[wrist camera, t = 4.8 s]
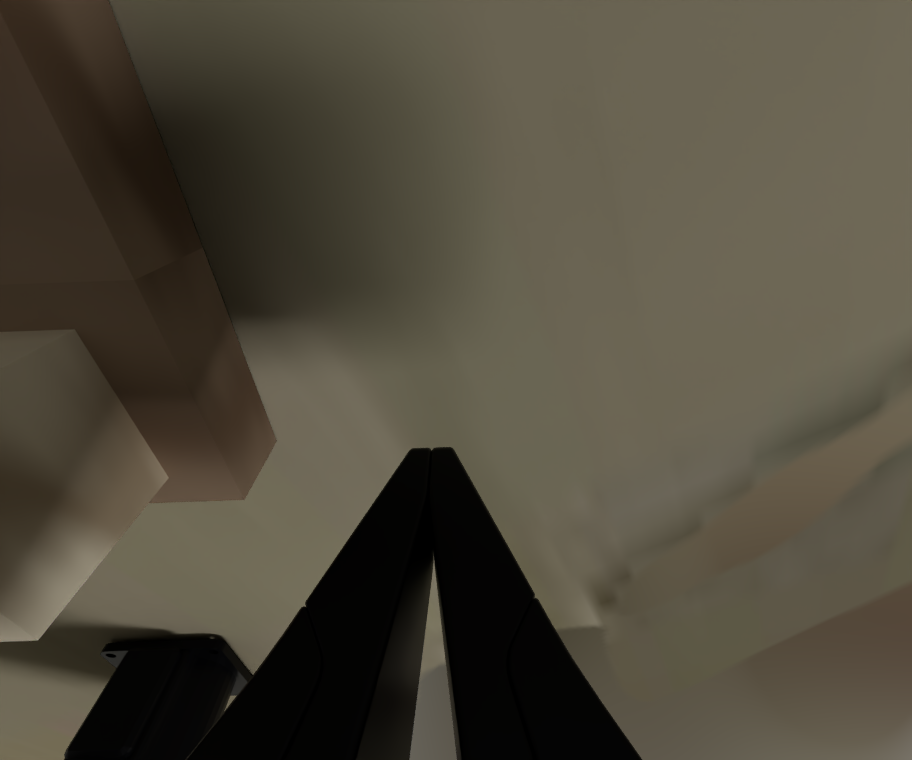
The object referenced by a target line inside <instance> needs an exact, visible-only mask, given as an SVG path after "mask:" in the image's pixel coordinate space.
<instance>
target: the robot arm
mask: <svg viewBox="0 0 912 760" xmlns="http://www.w3.org/2000/svg"><path fill="white" fill-rule="evenodd" d="M433 561H435V572H436V581H437V590H438V598H439V607H440V616H441V625H442V633H443V642H444V651H445V659H446V668H447V677H448V686H449V694H450V702H451V712H452V720H453V729H454V738H455V747H456V755H457V760H642V759H641V757H640V756H639V754H638V753H637V752H636V750H635V749H634V747H633V746H632V744H631V743H630V742H629V740H628V739H627V737H626V736H625V735H624V733H623V732H622V730H621V729H620V727H619V726H618V725H617V723H616V722H615V720H614V719H613V717H612V716H611V715H610V713H609V712H608V710H607V709H606V708H605V706H604V705H603V703H602V702H601V700H600V699H599V697H598V696H597V694H596V693H595V691H594V690H593V688H592V687H591V685H590V684H589V682H588V681H587V680H586V678H585V676H584V675H583V673H582V672H581V670H580V669H579V667H578V666H577V664H576V663H575V661H574V660H573V658H572V657H571V655H570V653H569V652H568V650H567V648H566V647H565V645H564V643H563V642H562V640H561V638H560V637H559V635H558V633H557V632H556V630H555V628H554V627H553V625H552V623H551V621H550V620H549V618H548V616H547V614H546V613H545V611H544V609H543V607H542V605H541V604H540V602H539V600H538V599H537V598H534V597H535V594H534V592H533V590H532V588H531V586H530V585H529V583H528V581H527V579H526V577H525V576H524V574H523V572H522V570H521V568H520V567H519V565H518V563H517V561H516V560H515V558H514V556H513V554H512V552H511V551H510V549H509V547H508V545H507V543H506V542H505V540H504V538H503V536H502V535H501V533H500V531H499V529H498V527H497V526H496V524H495V522H494V520H493V518H492V517H491V515H490V513H489V511H488V510H487V508H486V506H485V504H484V502H483V501H482V499H481V497H480V495H479V494H478V492H477V490H476V488H475V486H474V485H473V483H472V481H471V479H470V477H469V476H468V474H467V472H466V470H465V469H464V467H463V465H462V463H461V461H460V460H459V458H458V456H457V454H456V452H455V451H454V449H453V448H451V447H437V448H433V450H432V451H431V449H430V448H413V449H411V450H410V451H409V452H408V453H407V455H406V456H405V458H404V459H403V461H402V462H401V463H400V465H399V466H398V468H397V469H396V471H395V472H394V474H393V475H392V477H391V478H390V479H389V481H388V482H387V484H386V485H385V487H384V488H383V490H382V491H381V493H380V494H379V496H378V497H377V498H376V500H375V501H374V503H373V504H372V506H371V507H370V509H369V510H368V512H367V513H366V514H365V516H364V517H363V519H362V520H361V522H360V523H359V525H358V526H357V528H356V529H355V530H354V532H353V533H352V535H351V536H350V538H349V539H348V541H347V542H346V544H345V545H344V546H343V548H342V549H341V551H340V552H339V554H338V555H337V557H336V558H335V560H334V561H333V563H332V564H331V565H330V567H329V568H328V570H327V571H326V573H325V574H324V576H323V577H322V579H321V580H320V581H319V583H318V584H317V586H316V587H315V589H314V590H313V592H312V593H311V595H310V596H309V597H308V599H307V600H306V602H305V604H306V607H302V608H301V609H300V610H299V612H298V613H297V615H296V616H295V617H294V619H293V620H292V622H291V623H290V625H289V626H288V628H287V629H286V631H285V632H284V634H283V635H282V636H281V638H280V639H279V640H278V642H277V643H276V645H275V646H274V647H273V649H272V650H271V652H270V653H269V654H268V656H267V657H266V658H265V660H264V661H263V663H262V664H261V665H260V667H259V668H258V670H257V671H256V672H255V673H254V675H253V676H252V675H251V674H250V673H249V672H248V670H247V669H246V668H245V667H244V665H243V664H242V663H241V661H240V660H239V659H238V658H237V656H236V655H235V654H234V653H233V651H232V650H231V649H230V647H229V646H228V645H227V644H226V643H225V642H224V641H221V640H216V639H211V640H182V641H154V642H126V643H108V644H106V646H105V647H104V649H103V650H102V652H101V654H100V655H101V656H102V657H103V658H105V659H106V660H107V661H108V662H109V663H111V664H112V665H113V666H114V667H116V670H115V672H114V673H113V675H112V676H111V678H110V680H109V681H108V683H107V685H106V686H105V688H104V689H103V691H102V693H101V694H100V696H99V697H98V699H97V701H96V702H95V704H94V706H93V707H92V709H91V710H90V712H89V714H88V715H87V717H86V719H85V720H84V722H83V723H82V725H81V727H80V728H79V730H78V732H77V733H76V735H75V736H74V738H73V740H72V741H71V743H70V745H69V746H68V748H67V749H66V752H65V754H64V755H65V759H64V760H409V758H410V750H411V741H412V734H413V726H414V718H415V710H416V702H417V694H418V685H419V677H420V669H421V661H422V653H423V645H424V637H425V629H426V621H427V612H428V604H429V596H430V588H431V580H432V571H433ZM231 695H237V696H236V698H235V699H234V700H233V701H232V703H231V704H230V705H229V706H228V708H227V709H226V710H225V708H226V705H227V703H228V700H229V698H230V696H231Z"/></svg>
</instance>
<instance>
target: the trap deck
mask: <svg viewBox="0 0 912 760" xmlns="http://www.w3.org/2000/svg"><path fill="white" fill-rule="evenodd" d="M71 329H75V331H76V332H77V334H78V335H79V337H80V339H81V340H82V342H83V343H84V345H85V346H86V348H87V350H88V351H89V353H90V354H91V356H92V358H93V359H94V361H95V362H96V364H97V365H98V367H99V369H100V370H101V372H102V373H103V375H104V376H105V378H106V380H107V381H108V383H109V384H110V386H111V387H112V389H113V391H114V392H115V394H116V395H117V397H118V399H119V400H120V402H121V403H122V405H123V406H124V408H125V410H126V411H127V413H128V414H129V416H130V417H131V419H132V421H133V422H134V424H135V425H136V427H137V428H138V430H139V432H140V433H141V435H142V436H143V438H144V440H145V441H146V443H147V444H148V446H149V447H150V449H151V451H152V452H153V454H154V455H155V457H156V458H157V460H158V462H159V463H160V465H161V466H162V468H163V469H164V471H165V473H166V474H167V476H168V477H169V478H168V480H167V481H166V482H165V483H164V484H163V486H162V487H161V488H160V489H159V491H158V492H157V493H156V494H155V496H154V497H153V498H152V499H151V501H150V502H149V503H165V502H194V501H223V500H245V498H246V496H247V494H248V492H249V490H250V489H251V487H252V485H253V483H254V481H255V480H256V478H257V476H258V474H259V472H260V470H261V469H262V467H263V465H264V463H265V461H266V460H267V458H268V456H269V454H270V452H271V451H272V449H273V447H274V445H275V443H276V438H275V435H274V433H273V430H272V427H271V425H270V422H269V420H268V417H267V414H266V412H265V409H264V406H263V404H262V401H261V399H260V396H259V393H258V391H257V388H256V386H255V383H254V380H253V378H252V375H251V372H250V370H249V367H248V365H247V362H246V359H245V357H244V354H243V351H242V349H241V346H240V344H239V341H238V338H237V336H236V333H235V331H234V328H233V325H232V323H231V320H230V317H229V315H228V312H227V310H226V307H225V304H224V302H223V299H222V296H221V294H220V291H219V289H218V286H217V283H216V281H215V278H214V276H213V273H212V270H211V268H210V265H209V262H208V260H207V257H206V255H205V252H204V249H203V247H202V244H201V241H200V239H199V236H198V234H197V231H196V228H195V226H194V223H193V221H192V218H191V215H190V213H189V210H188V207H187V205H186V202H185V200H184V197H183V194H182V192H181V189H180V186H179V184H178V181H177V179H176V176H175V173H174V171H173V168H172V166H171V163H170V160H169V158H168V155H167V152H166V150H165V147H164V145H163V142H162V139H161V137H160V134H159V131H158V129H157V126H156V124H155V121H154V118H153V116H152V113H151V111H150V108H149V105H148V103H147V100H146V97H145V95H144V92H143V90H142V87H141V84H140V82H139V79H138V76H137V74H136V71H135V69H134V66H133V63H132V61H131V58H130V56H129V53H128V50H127V48H126V45H125V42H124V40H123V37H122V35H121V32H120V29H119V27H118V24H117V21H116V19H115V16H114V14H113V11H112V8H111V6H110V3H109V1H108V0H0V332H13V331H42V330H71Z"/></svg>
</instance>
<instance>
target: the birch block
mask: <svg viewBox="0 0 912 760" xmlns="http://www.w3.org/2000/svg"><path fill="white" fill-rule="evenodd" d="M168 478H169V477H168V476H167V474H166V473H165V471H164V469H163V468H162V466H161V465H160V463H159V462H158V460H157V458H156V457H155V455H154V454H153V452H152V451H151V449H150V447H149V446H148V444H147V443H146V441H145V440H144V438H143V436H142V435H141V433H140V432H139V430H138V428H137V427H136V425H135V424H134V422H133V421H132V419H131V417H130V416H129V414H128V413H127V411H126V410H125V408H124V406H123V405H122V403H121V402H120V400H119V399H118V397H117V395H116V394H115V392H114V391H113V389H112V387H111V386H110V384H109V383H108V381H107V380H106V378H105V376H104V375H103V373H102V372H101V370H100V369H99V367H98V365H97V364H96V362H95V361H94V359H93V358H92V356H91V354H90V353H89V351H88V350H87V348H86V346H85V345H84V343H83V342H82V340H81V339H80V337H79V335H78V334H77V332H76V331H75V329H71V330H42V331H13V332H0V642H10V641H38V640H39V639H40V637H41V636H42V635H43V634H44V632H45V631H46V630H47V629H48V628H49V626H50V625H51V624H52V623H53V621H54V620H55V619H56V618H57V616H58V615H59V614H60V613H61V611H62V610H63V609H64V608H65V606H66V605H67V604H68V603H69V601H70V600H71V599H72V598H73V596H74V595H75V594H76V593H77V591H78V590H79V589H80V588H81V586H82V585H83V584H84V583H85V581H86V580H87V579H88V578H89V577H90V575H91V574H92V573H93V572H94V570H95V569H96V568H97V567H98V565H99V564H100V563H101V562H102V560H103V559H104V558H105V557H106V555H107V554H108V553H109V552H110V550H111V549H112V548H113V547H114V545H115V544H116V543H117V542H118V540H119V539H120V538H121V537H122V535H123V534H124V533H125V532H126V531H127V529H128V528H129V527H130V526H131V524H132V523H133V522H134V521H135V519H136V518H137V517H138V516H139V514H140V513H141V512H142V511H143V509H144V508H145V507H146V506H147V504H148V503H149V502H150V501H151V499H152V498H153V497H154V496H155V494H156V493H157V492H158V491H159V489H160V488H161V487H162V486H163V484H164V483H165V482H166V481H167V480H168Z"/></svg>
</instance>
